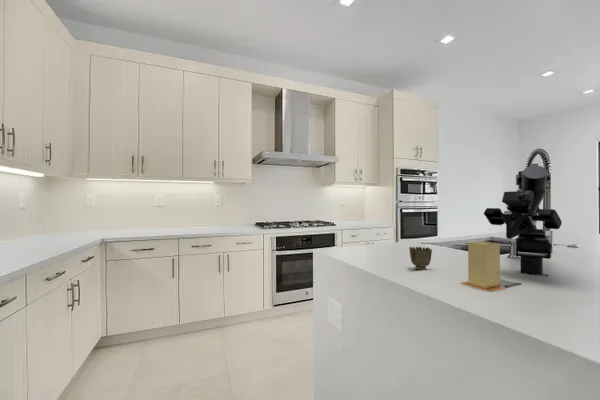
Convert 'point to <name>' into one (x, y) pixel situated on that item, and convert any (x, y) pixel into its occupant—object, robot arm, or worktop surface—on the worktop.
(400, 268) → the worktop surface
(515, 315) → the worktop surface
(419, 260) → the cup
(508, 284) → the silver flat plate
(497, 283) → the brass block
